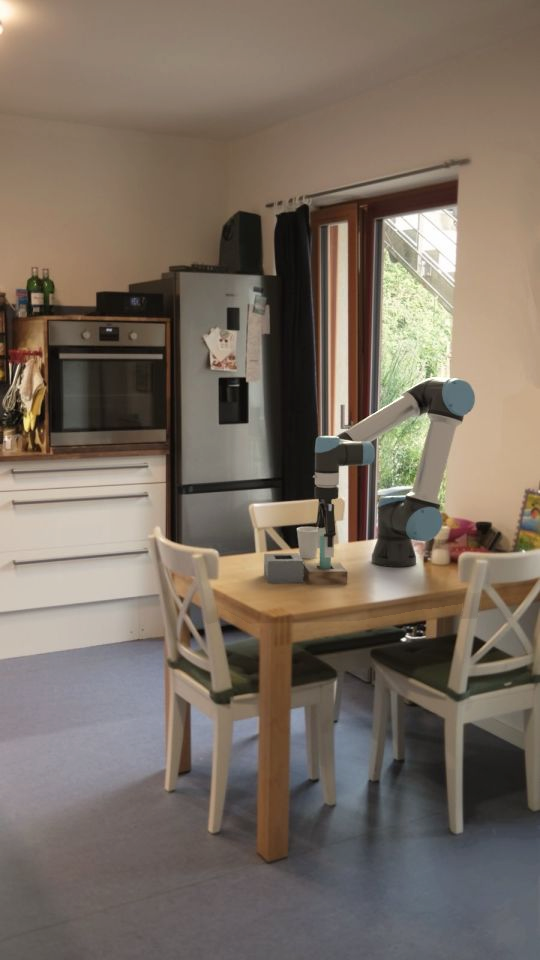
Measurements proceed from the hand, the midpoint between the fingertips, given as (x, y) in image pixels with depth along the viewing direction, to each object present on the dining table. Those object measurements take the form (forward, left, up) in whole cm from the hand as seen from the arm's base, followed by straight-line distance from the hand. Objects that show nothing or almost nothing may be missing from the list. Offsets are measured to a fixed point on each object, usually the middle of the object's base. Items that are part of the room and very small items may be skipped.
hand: (325, 552), depth 308 cm
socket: (+13, -2, -9) cm, 16 cm away
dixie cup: (0, -34, -9) cm, 35 cm away
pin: (0, 0, -9) cm, 9 cm away
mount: (0, 0, -9) cm, 9 cm away
